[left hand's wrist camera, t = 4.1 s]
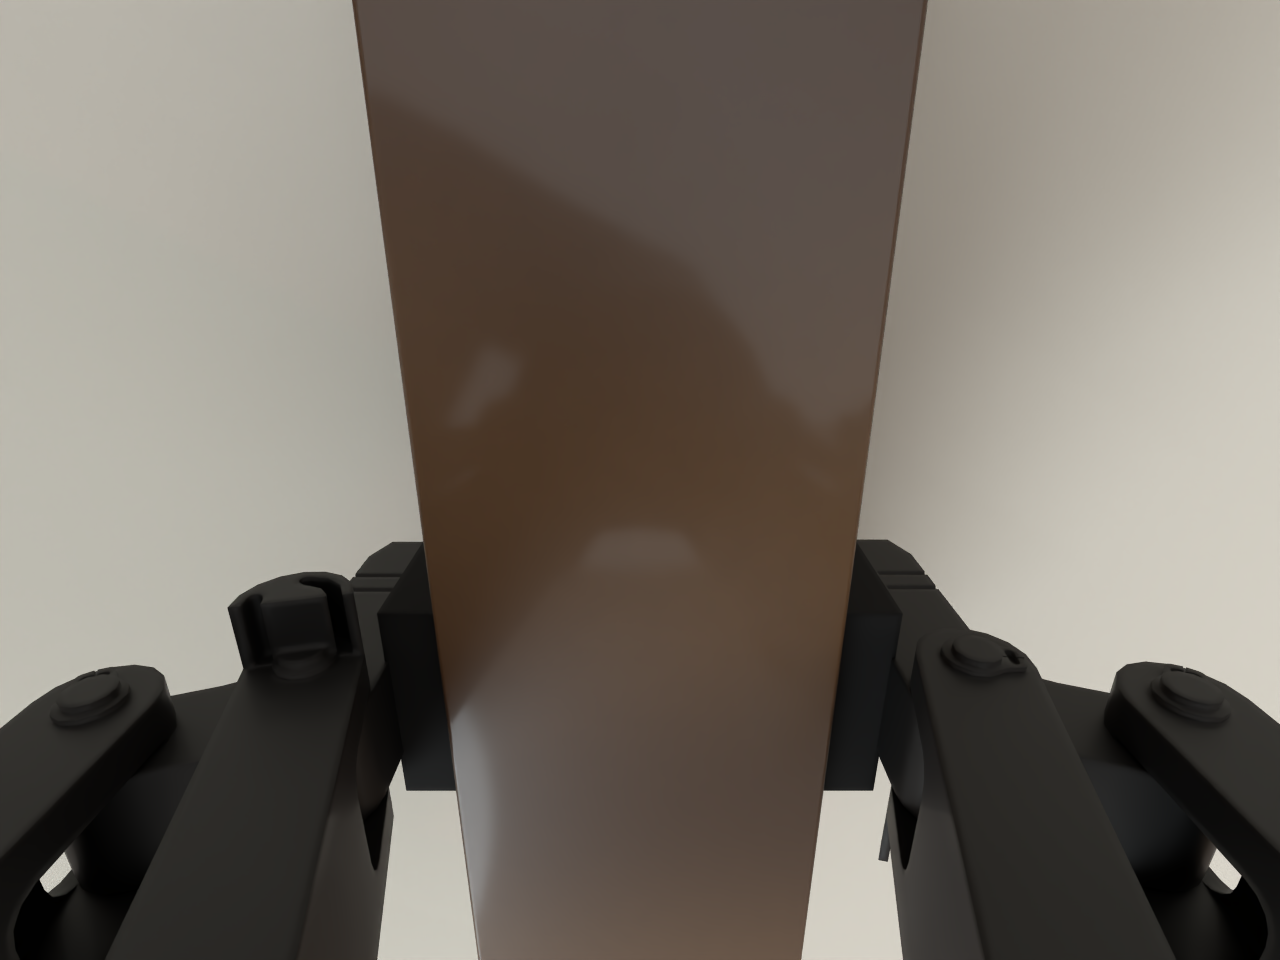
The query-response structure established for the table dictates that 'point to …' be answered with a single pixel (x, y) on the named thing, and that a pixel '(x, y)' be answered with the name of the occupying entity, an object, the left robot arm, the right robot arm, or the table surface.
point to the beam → (639, 434)
